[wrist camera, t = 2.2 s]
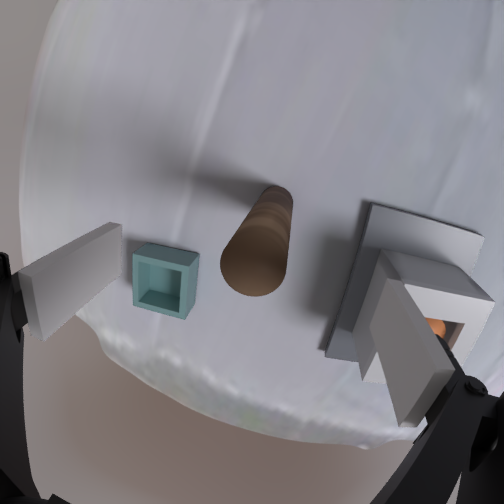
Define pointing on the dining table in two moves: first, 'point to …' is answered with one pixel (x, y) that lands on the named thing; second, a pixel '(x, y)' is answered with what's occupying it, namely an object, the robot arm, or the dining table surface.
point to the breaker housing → (411, 284)
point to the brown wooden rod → (260, 245)
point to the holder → (164, 279)
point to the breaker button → (437, 326)
